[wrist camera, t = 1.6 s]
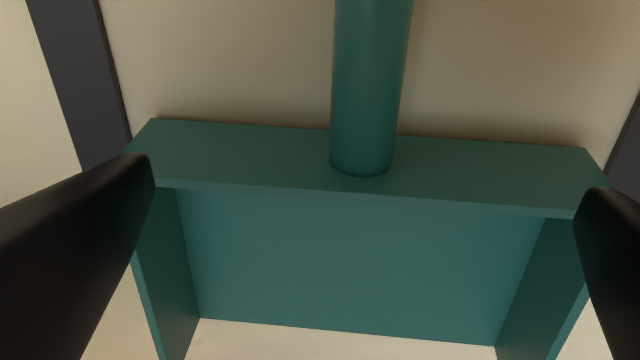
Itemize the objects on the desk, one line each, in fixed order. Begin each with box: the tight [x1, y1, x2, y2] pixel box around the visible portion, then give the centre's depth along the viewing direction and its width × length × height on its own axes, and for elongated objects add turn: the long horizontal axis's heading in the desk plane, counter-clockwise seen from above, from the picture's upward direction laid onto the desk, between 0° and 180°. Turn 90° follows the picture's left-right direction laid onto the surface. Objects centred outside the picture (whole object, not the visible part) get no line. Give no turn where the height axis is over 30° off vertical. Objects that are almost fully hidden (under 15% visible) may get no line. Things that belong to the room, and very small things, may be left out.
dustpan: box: [119, 0, 615, 360], centre depth 16 cm, size 24×17×4 cm
